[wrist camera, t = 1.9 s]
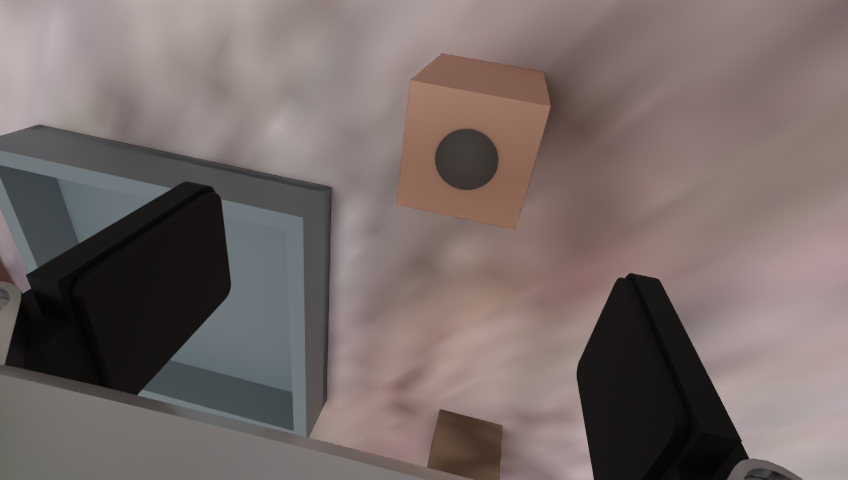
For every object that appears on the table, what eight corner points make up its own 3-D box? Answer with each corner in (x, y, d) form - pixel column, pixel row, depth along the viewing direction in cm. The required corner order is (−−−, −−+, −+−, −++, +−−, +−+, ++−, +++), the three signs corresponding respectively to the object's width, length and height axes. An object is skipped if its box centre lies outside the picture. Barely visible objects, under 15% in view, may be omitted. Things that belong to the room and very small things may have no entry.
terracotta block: (543, 71, 21) (550, 106, 15) (517, 167, 24) (515, 231, 18) (441, 53, 21) (409, 80, 15) (427, 149, 24) (395, 205, 18)
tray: (331, 187, 26) (303, 217, 23) (326, 400, 37) (306, 442, 33) (38, 124, 28) (-28, 144, 25) (113, 344, 39) (74, 378, 35)
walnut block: (502, 425, 34) (497, 518, 28) (488, 461, 37) (481, 554, 31) (440, 408, 35) (422, 498, 29) (431, 445, 37) (413, 534, 31)
